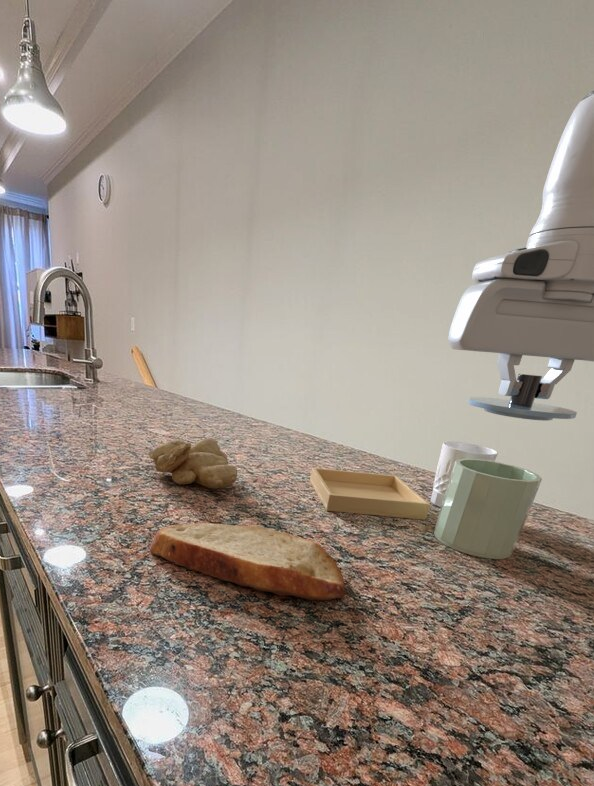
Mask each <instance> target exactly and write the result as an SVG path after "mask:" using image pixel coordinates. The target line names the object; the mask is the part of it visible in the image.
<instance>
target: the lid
mask: <svg viewBox="0 0 594 786" xmlns="http://www.w3.org/2000/svg"><path fill="white" fill-rule="evenodd" d="M542 379H543V376H542V375H537V374H530V373H518V375H517V376H516V381H521V382H523V383H522V386H521V388H520V389H519V391H520V392H519V394H518V396H510V398H508V399H507V398H498V397H487V396H473V397H472V396H471V397H468V400H467V404H468V405H471V406H472V407H476V408H481V409H483V411H484V412H487V413H490V414H494V415H498V416H503V417H509V418H516V419H523V420H530V421H543V422H544V421H548V422H549V421H553V419H557V420H572V419H575V418H576V417H577V414H578V412H577V411H575V410H573V409H569V408H565V407H559V406H555V405H551V404H545V403H544V404H543V403H539V402H534V401H535V399H536V398H535V396H536V393H537V390H538V388H539V385H540V382H541V380H542Z"/></svg>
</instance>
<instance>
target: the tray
mask: <svg viewBox="0 0 594 786" xmlns="http://www.w3.org/2000/svg"><path fill="white" fill-rule="evenodd" d="M309 482H310V485H311V486H312V488H313V489H314V491H315V493H316V495H317V496H318V499H319V501H320V503H321V504H322V505H323V507H324V509H325V511H327V512H336V513H348V514H359V515H369V516H378V517H380V516H381V517H392V518H401V519H412V520H423V521H426V520H427V517H428V514H429V510H430V508H431V503H430V502H428V501H427V499H425V498H423V496H421V495H420V494H419V493H418V492H417V491H415V489H413V488H412V487H411V486H410V485H408V484H407V483H406V482H405V481H404V480H402V478H400V477H399V476H397V475H396V474H383V473H374V472H364V471H363V472H362V471H353V470H342V469H331V468H321V467H320V468H319V467H311V471H310V477H309Z"/></svg>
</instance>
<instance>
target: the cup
mask: <svg viewBox="0 0 594 786" xmlns="http://www.w3.org/2000/svg"><path fill="white" fill-rule="evenodd" d="M542 480H543V478H542V477H541V475H539V474H537V473H536V472H533V471H531V470H528V469H525V468H523V467H519V466H516V465H513V464H508V463H503V462H499V461H495V462H494V461H488V460H480V459H459V460H456V461H455V464H454V467H453V470H452V473H451V477H450V480H449V483H448V486H447V490H446V493H445V496H444V499H443V502H442V506H441V507H440V509H439V513H438V515H437V519H436V522H435V526H434V531H433V535H434V538H436V540H438V541H439V542H440V543H441V544H443V545H445V546H446V547H448V548H450V549H453V550H455V551H458V552H460V553H463V554H467V555H470V556H474V557H478V558H483V559H488V560H489V559H490V560H502V559H508V558H510V557H511V556H512V555H513V552H514V551H515V549H516V547H517V544H518V542H519V539H520V536H521V534H522V531H523V529H524V526H525V524H526V521H527V519H528V516H529V514H530V511H531V508H532V506H533V503H534V501H535V498H536V496H537V493H538V491H539V488H540V486H541V483H542Z"/></svg>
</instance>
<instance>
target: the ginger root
mask: <svg viewBox="0 0 594 786" xmlns="http://www.w3.org/2000/svg"><path fill="white" fill-rule="evenodd" d="M148 456H149V458H150V460H152V461H153V462H154V468H155V470H156V472H159V473H165V474H166V473H167V474H171V479H172V481H173V482H174V483H176V484H177V485H182V486H183V485H190V484H193V482H195V483H196V484H198V485H202V486H204V487H206V488H210V489H213V490H215V489H222V488H226V487H230V486H232V485H233V484H234V483H235V482H236V481H237V477H238V469H237V467H236V465H232V464H229V463H228V462H229V461H228V460H229V459H228V456H227V455H226V453H225V452H224V451H221V448H220V446H219V444H218V441H217V440H216V439H214V438H204V439H199V440H198V441H197V442H196V443H195V444H193V445H192V442H191V443H190V442H188V443H186V442H185V441H183V440H181V439H175V440H174V439H173V440H170V441H168V442H165V443H163V444H161V445H158V446H156V447H155V448H154V449H152V450H150V451H149V452H148Z"/></svg>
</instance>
